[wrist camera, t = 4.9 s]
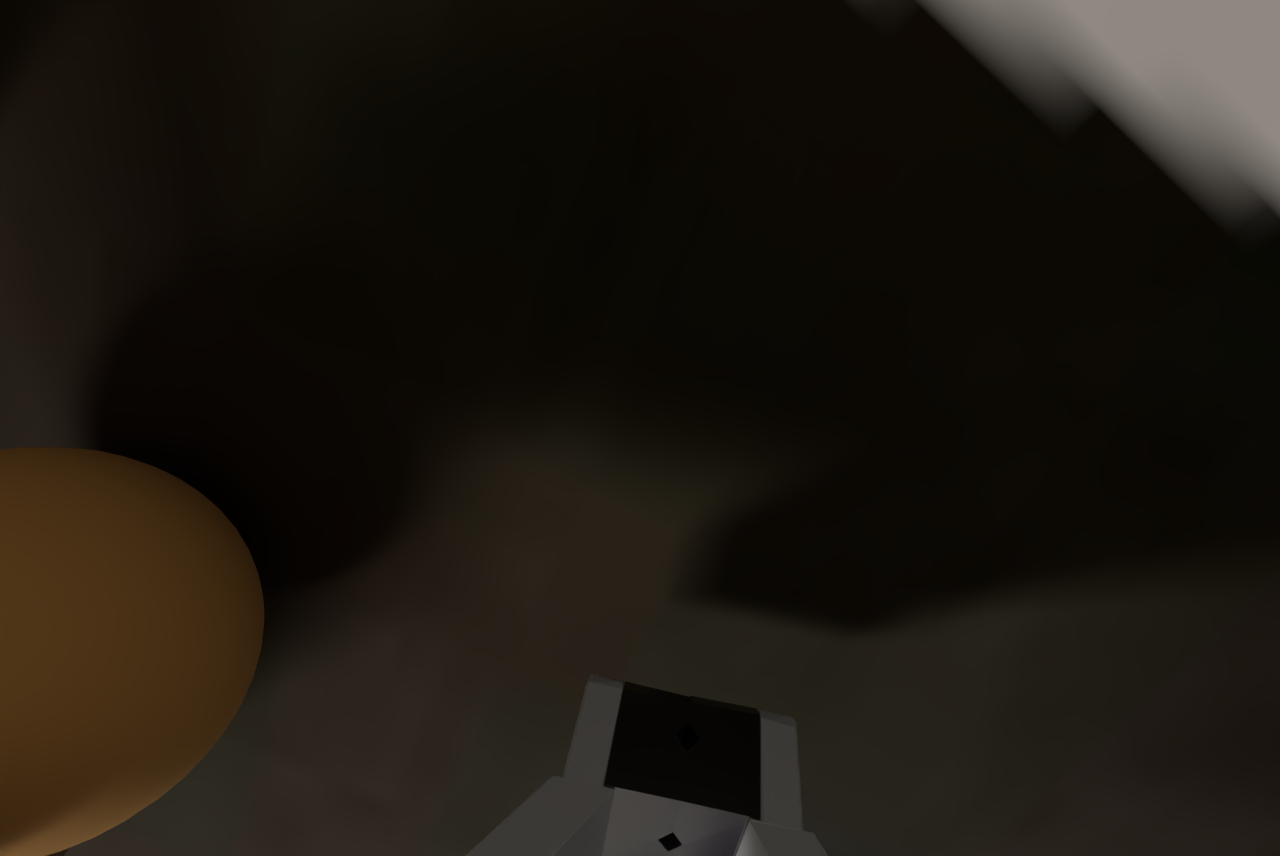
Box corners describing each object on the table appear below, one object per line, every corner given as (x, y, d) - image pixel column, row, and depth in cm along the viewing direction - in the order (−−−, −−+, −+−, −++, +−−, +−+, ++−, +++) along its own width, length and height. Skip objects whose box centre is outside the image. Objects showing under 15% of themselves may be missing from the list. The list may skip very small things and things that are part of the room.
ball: (-201, 384, 10) (253, 370, 11) (-51, 655, 12) (292, 607, 14) (-644, 735, 5) (200, 618, 7) (-259, 1027, 8) (272, 885, 10)
